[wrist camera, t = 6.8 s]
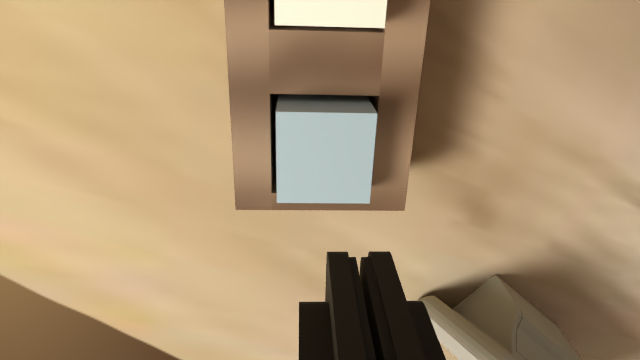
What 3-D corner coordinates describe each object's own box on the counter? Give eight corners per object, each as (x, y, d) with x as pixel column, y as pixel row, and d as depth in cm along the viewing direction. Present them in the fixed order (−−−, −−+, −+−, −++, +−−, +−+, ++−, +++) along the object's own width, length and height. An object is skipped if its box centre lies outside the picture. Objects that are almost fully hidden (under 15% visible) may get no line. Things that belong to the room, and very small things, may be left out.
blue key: (279, 92, 25) (275, 111, 22) (366, 94, 25) (377, 113, 22) (279, 173, 27) (276, 203, 24) (360, 173, 28) (369, 203, 24)
